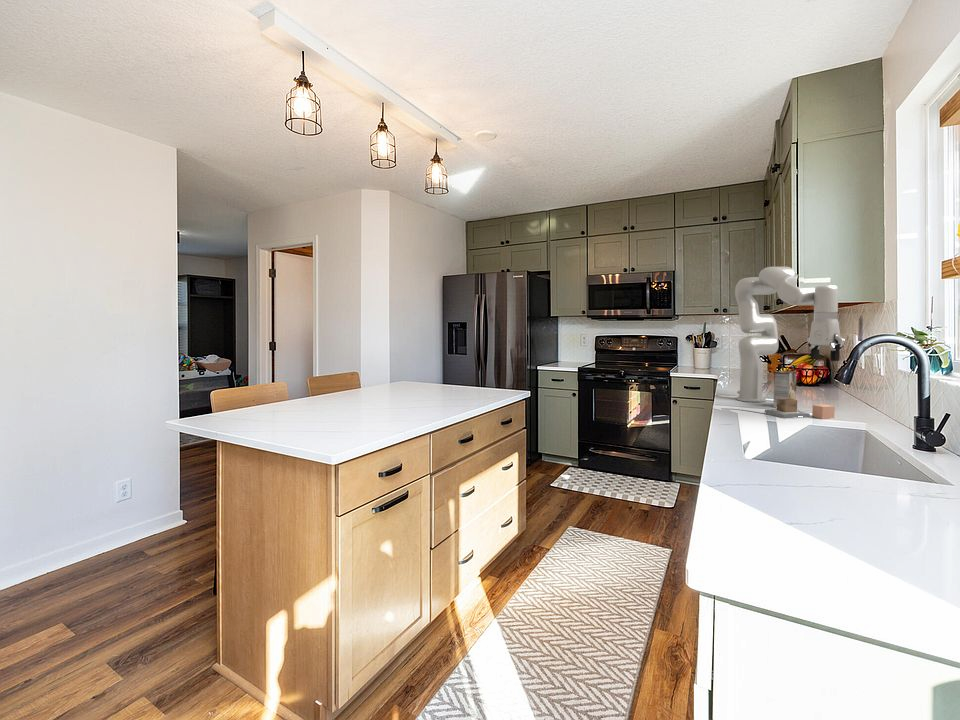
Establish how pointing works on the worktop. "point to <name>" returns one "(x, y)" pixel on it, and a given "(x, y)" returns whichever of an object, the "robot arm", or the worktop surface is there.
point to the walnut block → (786, 405)
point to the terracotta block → (823, 411)
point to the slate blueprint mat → (787, 415)
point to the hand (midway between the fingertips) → (824, 360)
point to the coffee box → (784, 385)
